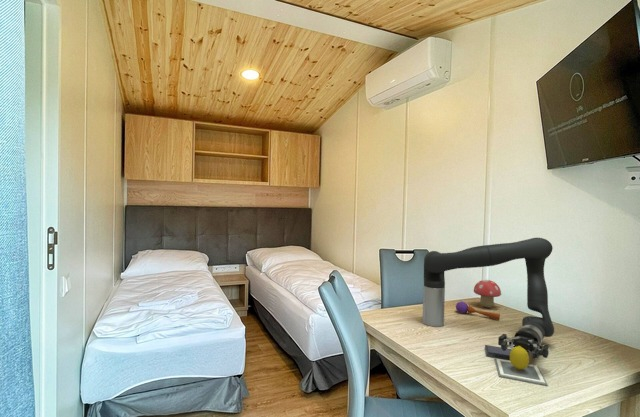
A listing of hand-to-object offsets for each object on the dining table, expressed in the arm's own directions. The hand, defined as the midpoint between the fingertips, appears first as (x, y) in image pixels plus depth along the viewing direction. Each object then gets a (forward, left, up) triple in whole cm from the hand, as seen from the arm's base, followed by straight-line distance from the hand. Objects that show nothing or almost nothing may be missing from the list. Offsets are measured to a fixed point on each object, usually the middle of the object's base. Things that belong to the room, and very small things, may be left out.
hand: (518, 351), depth 106 cm
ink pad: (-3, +14, -7) cm, 16 cm away
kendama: (-9, +59, -8) cm, 60 cm away
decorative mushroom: (-3, +77, -7) cm, 77 cm away
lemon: (+1, +2, -7) cm, 7 cm away
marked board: (+1, +2, -7) cm, 7 cm away
